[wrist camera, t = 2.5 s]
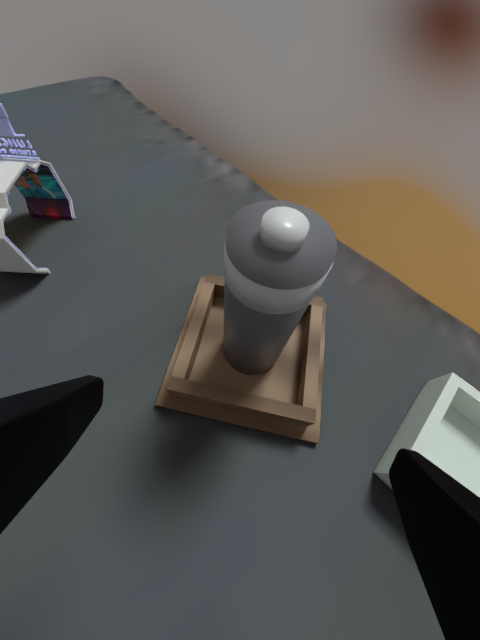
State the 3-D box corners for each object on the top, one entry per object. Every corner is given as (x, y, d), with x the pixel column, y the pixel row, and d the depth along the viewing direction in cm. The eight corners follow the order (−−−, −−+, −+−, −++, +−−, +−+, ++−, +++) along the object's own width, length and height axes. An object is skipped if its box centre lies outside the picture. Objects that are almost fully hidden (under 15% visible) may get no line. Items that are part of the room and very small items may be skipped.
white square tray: (502, 592, 16) (556, 618, 14) (373, 472, 19) (397, 474, 17) (539, 467, 20) (587, 469, 17) (425, 382, 23) (452, 372, 20)
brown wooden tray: (316, 443, 20) (328, 442, 18) (156, 405, 20) (148, 399, 18) (324, 305, 26) (334, 291, 24) (201, 279, 27) (199, 263, 24)
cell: (287, 367, 22) (368, 257, 10) (231, 382, 21) (244, 282, 9) (268, 317, 24) (315, 178, 12) (216, 329, 23) (212, 191, 11)
